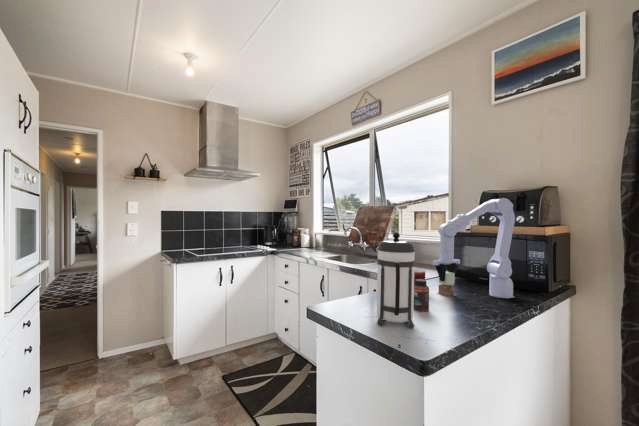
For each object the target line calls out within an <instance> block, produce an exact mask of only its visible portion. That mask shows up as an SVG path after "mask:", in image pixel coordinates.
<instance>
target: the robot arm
mask: <svg viewBox="0 0 639 426" xmlns="http://www.w3.org/2000/svg"><path fill="white" fill-rule="evenodd" d="M486 213H490V214H492V215H494V216H495V217H497V219H498V220H499V227H498V232H497V236H496V243H495V248H494V254H493V255H492V256H491V257H490V260H489V262H488V263H487V265H486V271H487V272H488V273H489V285H488V287H489V289H488V292H489V293H488V295H489V296H492V297H495V298H500V299H501V298H502V299H510V298H511V299H512V298H514V282H513V280H512V279H511V278H510V277H511V276H512V274H513V269H512V262H511V260H510V257H509V254H510V250H511V249H510V248H511V244H512V238H513V232H514V227H515V223H516V216H515V213H514V203H512V202H511V200H510V199H508V198H505V197H502V198H492V199H489V200H487V201H485V202H483V203H482V204H480V205H478V206H476V208H474V209H473V210H471V211H469V212H468V213H466V214H464V213H461V214H459V213H458V214H457V215H455V217H454V218H453V219H449V220H447V223H442V224H441V225H440V226H439V228H438V229H437V231H438V234H439V235H440V239H439V240H440V241H439V243H440V245H439V258H438V259H436V260H435V259H433V260H432V266H434V268H435V269H436V271H437V275H438V280H439V279H440V281H445V274H446V271H448V272H452V273H455V274H456V272H457V271H458V268H459V267H460V264H461V259H458V258H454V257H455V236H456V235H457V233H458V232H460V231H461V230H463V229H465V228H466V227H468V226H470V224H471V221H473V220H475V219H476V218H479V217H480V216H483V215H484V214H486Z"/></svg>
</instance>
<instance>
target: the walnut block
mask: <svg viewBox="0 0 639 426" xmlns="http://www.w3.org/2000/svg"><path fill="white" fill-rule="evenodd" d="M438 293H439V294H438V295H440V294H442V295H441V296H443V295H445V296H444V297H446V296H447V297H450V296H449V295H455V285H444V284H441V283H439V284H438Z"/></svg>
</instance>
